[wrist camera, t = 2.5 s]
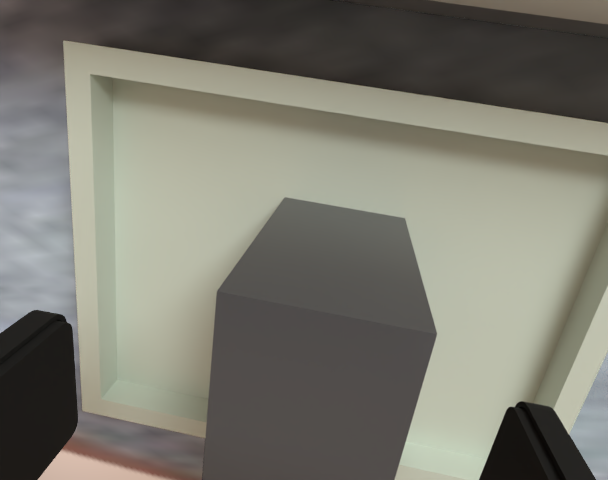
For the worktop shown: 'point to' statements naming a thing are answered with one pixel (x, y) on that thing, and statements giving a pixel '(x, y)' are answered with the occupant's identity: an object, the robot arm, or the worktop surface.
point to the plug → (318, 349)
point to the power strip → (514, 12)
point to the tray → (343, 193)
